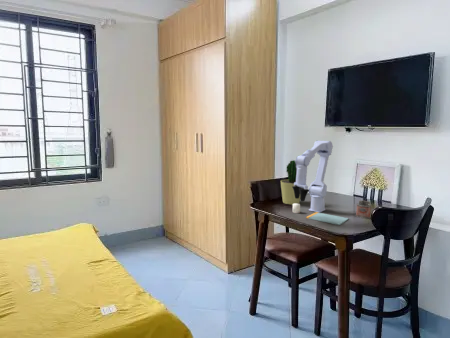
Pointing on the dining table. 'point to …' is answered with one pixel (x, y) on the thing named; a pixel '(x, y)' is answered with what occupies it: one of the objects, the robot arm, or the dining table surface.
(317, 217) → the mat
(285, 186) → the potted cactus
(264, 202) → the dining table surface
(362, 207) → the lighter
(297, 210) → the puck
